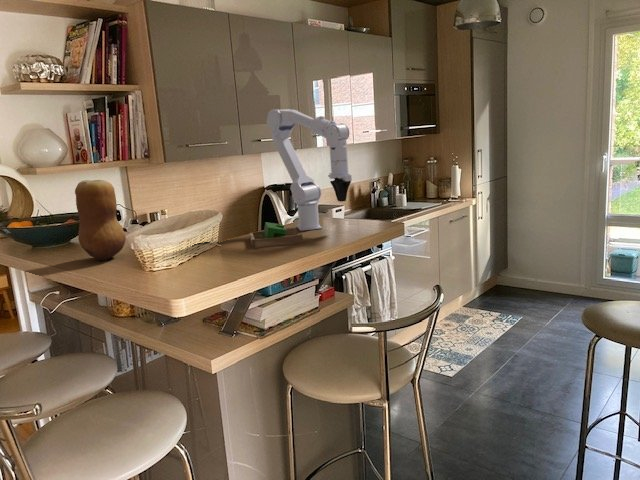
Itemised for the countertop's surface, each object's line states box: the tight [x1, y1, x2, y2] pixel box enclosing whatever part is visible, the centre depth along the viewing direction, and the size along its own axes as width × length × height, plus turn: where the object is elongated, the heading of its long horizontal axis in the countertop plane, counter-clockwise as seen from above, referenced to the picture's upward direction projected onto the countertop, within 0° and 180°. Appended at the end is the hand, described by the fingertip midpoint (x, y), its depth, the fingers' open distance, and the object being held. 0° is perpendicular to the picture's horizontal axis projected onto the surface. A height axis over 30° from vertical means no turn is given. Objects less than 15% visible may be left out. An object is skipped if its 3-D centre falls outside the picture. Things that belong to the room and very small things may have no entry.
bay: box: [249, 226, 304, 249], centre depth 170 cm, size 14×16×2 cm
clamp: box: [263, 221, 287, 239], centre depth 170 cm, size 12×6×9 cm, turn 5°
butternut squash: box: [74, 179, 126, 261], centre depth 161 cm, size 14×13×25 cm
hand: (341, 201), depth 176 cm, fingers closed
